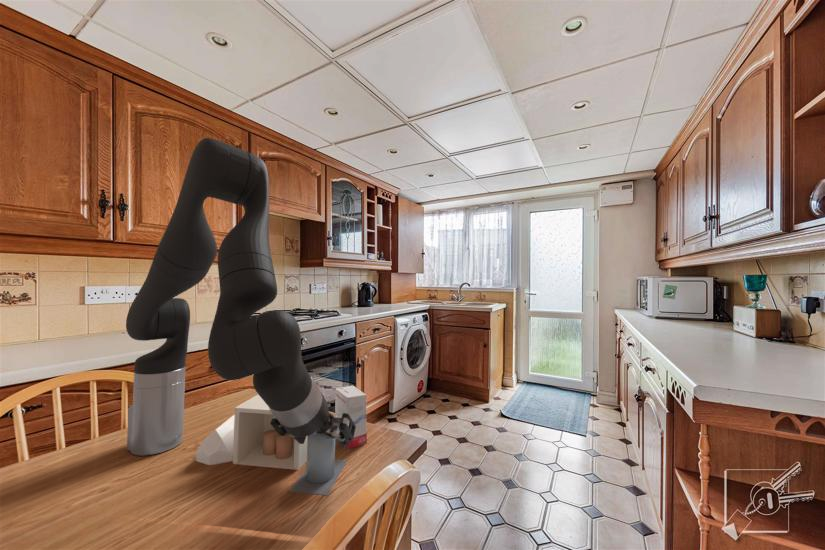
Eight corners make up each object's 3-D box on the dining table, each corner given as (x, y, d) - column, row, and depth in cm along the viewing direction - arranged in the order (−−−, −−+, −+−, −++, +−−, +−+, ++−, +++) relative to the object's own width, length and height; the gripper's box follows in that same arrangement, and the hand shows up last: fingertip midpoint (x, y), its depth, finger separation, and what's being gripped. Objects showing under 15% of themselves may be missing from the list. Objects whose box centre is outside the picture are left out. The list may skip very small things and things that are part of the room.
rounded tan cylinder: (272, 458, 67) (273, 439, 67) (280, 450, 70) (281, 432, 70) (287, 459, 67) (287, 440, 67) (294, 451, 70) (295, 433, 70)
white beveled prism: (239, 405, 88) (179, 451, 64) (263, 391, 88) (212, 432, 64) (252, 428, 88) (197, 483, 64) (276, 415, 88) (230, 465, 64)
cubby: (232, 466, 65) (234, 407, 65) (261, 442, 75) (263, 391, 75) (298, 472, 63) (300, 412, 64) (318, 447, 73) (320, 395, 74)
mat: (289, 494, 57) (289, 491, 57) (315, 460, 68) (315, 457, 68) (327, 498, 56) (327, 495, 56) (347, 463, 67) (347, 460, 67)
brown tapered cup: (259, 454, 69) (260, 435, 69) (268, 447, 72) (268, 429, 72) (273, 455, 68) (274, 436, 68) (281, 448, 71) (282, 430, 71)
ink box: (367, 446, 74) (368, 394, 75) (346, 452, 72) (348, 398, 72) (352, 431, 82) (353, 384, 82) (333, 436, 79) (334, 387, 79)
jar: (301, 481, 59) (303, 423, 60) (313, 466, 65) (315, 413, 65) (327, 484, 59) (329, 426, 59) (338, 468, 64) (339, 415, 64)
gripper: (346, 383, 54) (363, 423, 65) (266, 379, 55) (296, 418, 66) (334, 429, 48) (355, 464, 59) (246, 423, 50) (282, 458, 61)
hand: (324, 440), depth 63 cm, fingers open, 8 cm apart
